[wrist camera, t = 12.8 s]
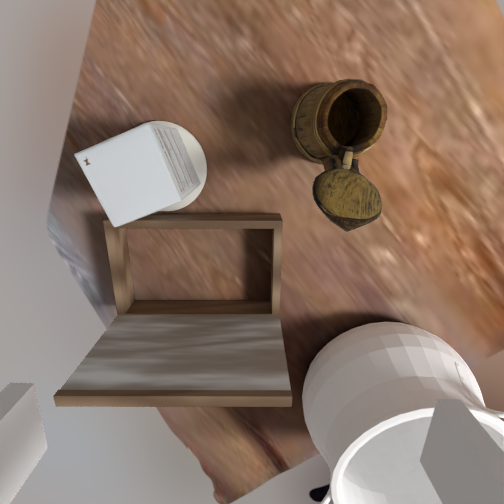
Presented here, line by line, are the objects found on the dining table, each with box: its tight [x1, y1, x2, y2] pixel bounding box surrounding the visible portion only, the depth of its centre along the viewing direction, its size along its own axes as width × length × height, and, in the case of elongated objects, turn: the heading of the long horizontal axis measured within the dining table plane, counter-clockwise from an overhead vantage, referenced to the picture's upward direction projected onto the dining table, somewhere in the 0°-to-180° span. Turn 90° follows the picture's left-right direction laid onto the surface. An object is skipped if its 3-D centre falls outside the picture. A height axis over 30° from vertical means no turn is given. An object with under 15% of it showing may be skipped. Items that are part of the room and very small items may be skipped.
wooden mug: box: [291, 79, 387, 232], centre depth 32 cm, size 9×14×18 cm, turn 170°
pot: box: [302, 322, 504, 504], centre depth 44 cm, size 28×24×17 cm
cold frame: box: [53, 214, 292, 407], centre depth 36 cm, size 14×22×19 cm, turn 90°
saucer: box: [142, 121, 207, 211], centre depth 41 cm, size 11×11×1 cm
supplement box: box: [74, 123, 201, 227], centre depth 34 cm, size 7×7×13 cm
